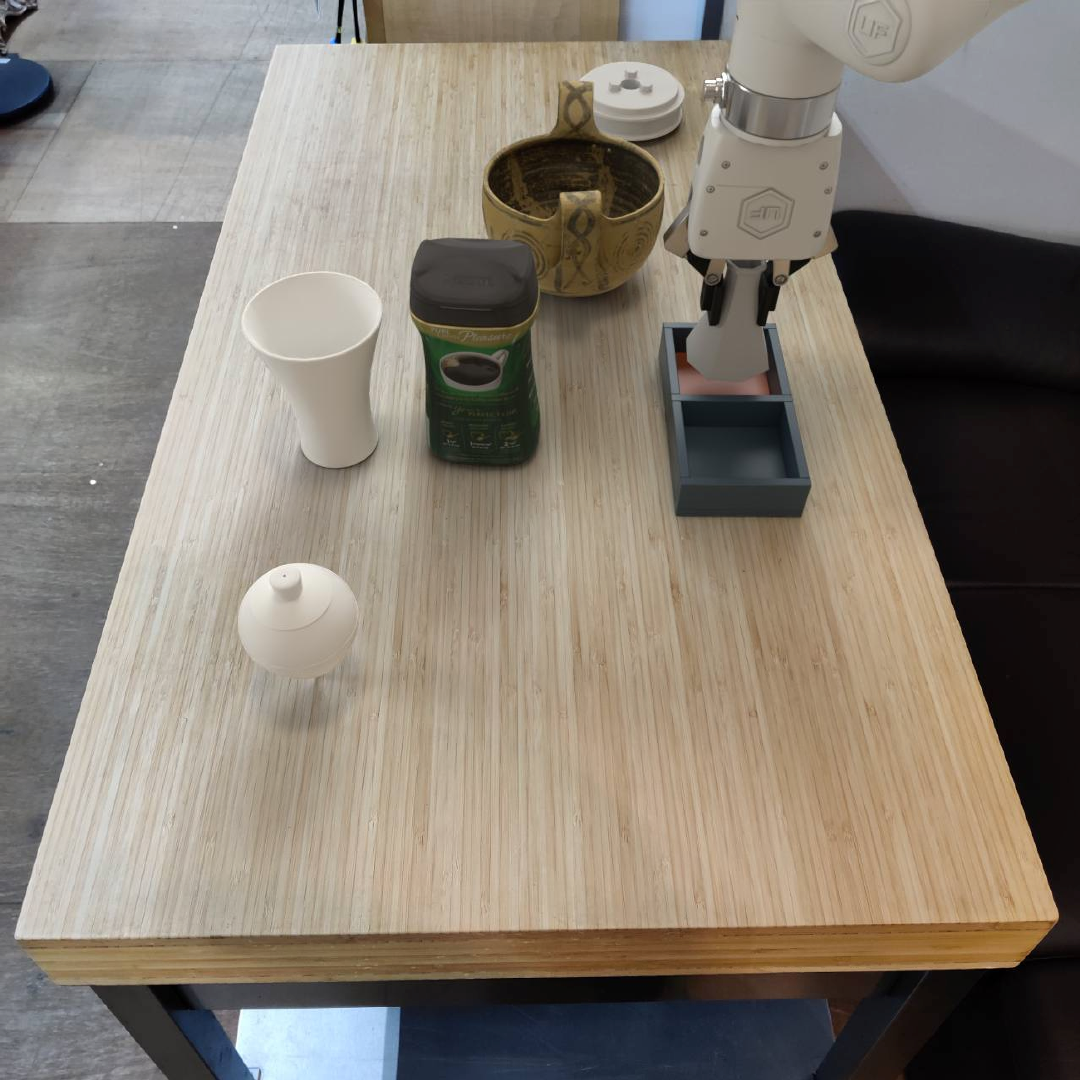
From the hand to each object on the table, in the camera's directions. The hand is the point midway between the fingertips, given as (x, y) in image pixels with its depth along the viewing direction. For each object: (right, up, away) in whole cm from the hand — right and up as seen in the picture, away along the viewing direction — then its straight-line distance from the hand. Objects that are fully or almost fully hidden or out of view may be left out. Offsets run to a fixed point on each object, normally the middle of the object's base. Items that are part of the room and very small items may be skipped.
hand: (735, 313), depth 81 cm
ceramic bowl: (-13, +8, +18) cm, 23 cm away
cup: (-33, -10, +3) cm, 35 cm away
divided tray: (0, -9, +4) cm, 10 cm away
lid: (-6, +31, +36) cm, 48 cm away
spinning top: (-32, -28, -11) cm, 44 cm away
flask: (0, -3, +4) cm, 5 cm away
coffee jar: (-21, -10, +4) cm, 23 cm away
